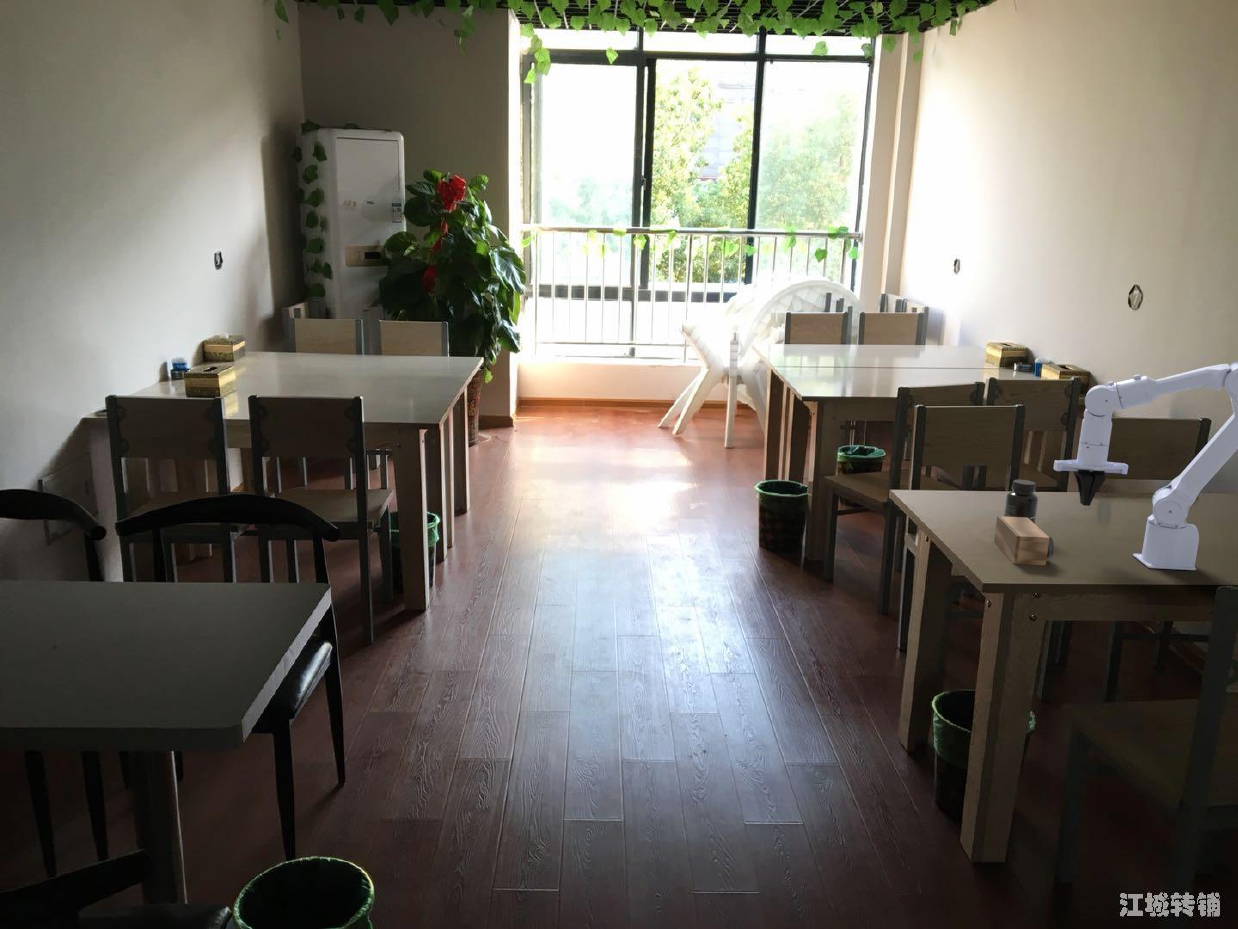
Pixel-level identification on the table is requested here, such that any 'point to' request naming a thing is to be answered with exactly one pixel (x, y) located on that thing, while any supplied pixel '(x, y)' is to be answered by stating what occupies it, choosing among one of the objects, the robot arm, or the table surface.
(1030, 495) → the supplement bottle
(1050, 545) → the knob near
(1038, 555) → the catch block
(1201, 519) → the table surface
